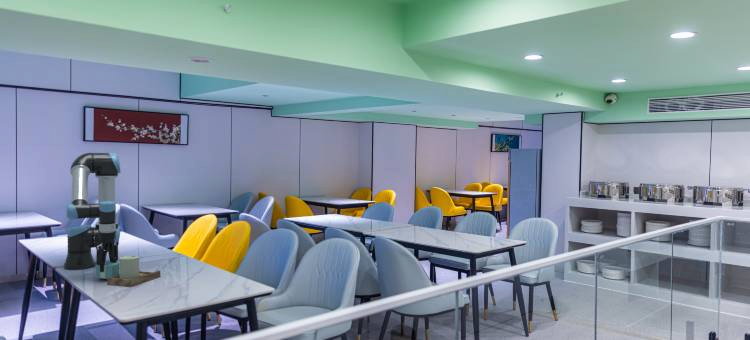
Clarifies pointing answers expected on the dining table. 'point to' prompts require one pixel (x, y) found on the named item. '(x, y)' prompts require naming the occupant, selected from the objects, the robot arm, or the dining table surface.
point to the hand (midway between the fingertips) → (107, 276)
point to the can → (129, 267)
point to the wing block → (108, 270)
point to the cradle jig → (130, 283)
